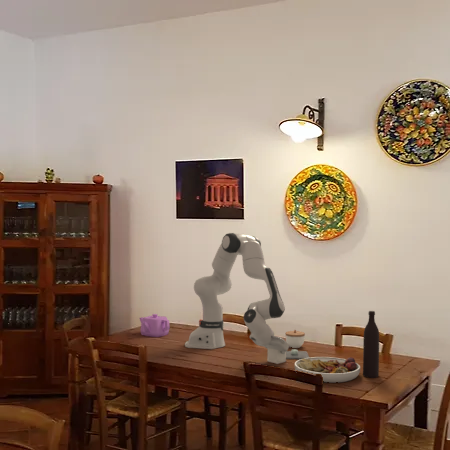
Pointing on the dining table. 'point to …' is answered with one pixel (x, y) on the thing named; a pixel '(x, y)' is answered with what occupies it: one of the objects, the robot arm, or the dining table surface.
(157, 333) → the teakettle
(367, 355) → the wine bottle
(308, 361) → the bowl
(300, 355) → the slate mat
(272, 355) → the white square canister
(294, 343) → the lidded jar
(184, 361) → the dining table surface
